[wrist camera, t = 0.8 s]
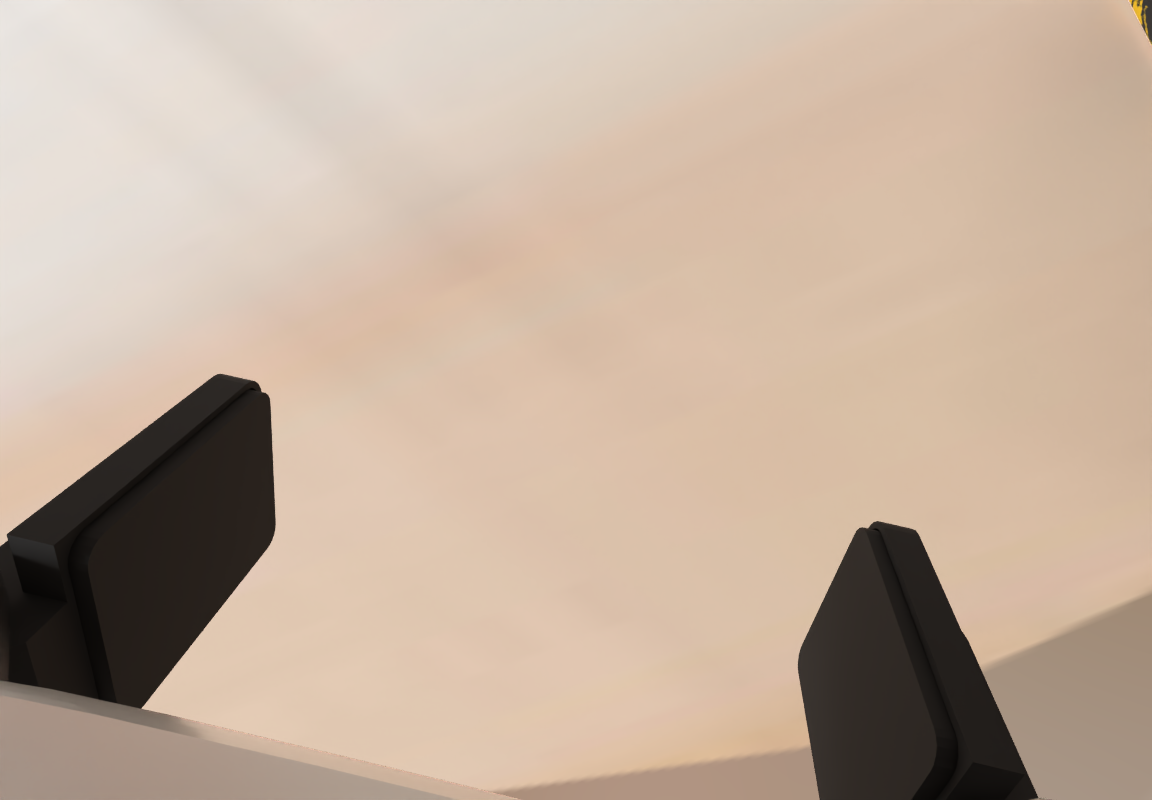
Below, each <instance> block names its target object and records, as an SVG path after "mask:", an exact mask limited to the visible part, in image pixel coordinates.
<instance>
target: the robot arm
mask: <svg viewBox="0 0 1152 800" xmlns="http://www.w3.org/2000/svg"><path fill="white" fill-rule="evenodd" d="M275 525H276V522H275V499H274V476H273V453H272V430H271V407H270V398H269V396H268V395H267V394H266V393H263V392H261V388H260V386H259V384H258V383H257V382H255V381H251V380H247V379H242V378H238V377H233V376H229V375H224V374H217V375H215V376H213V377H212V378H211V379H209V380H208V381H207V382H206V383H204V384H203V385H202V386H200V387H199V388H198V389H196V390H195V391H194V392H192V393H191V394H190V395H188V396H187V397H186V398H185V399H183V400H182V401H181V402H179V403H178V404H177V405H175V406H174V407H173V408H171V409H170V410H169V411H168V412H166V413H165V414H164V415H162V416H161V417H160V418H158V419H157V420H156V421H154V422H153V423H152V424H151V425H149V426H148V427H147V428H145V429H144V430H143V431H141V432H140V433H139V434H137V435H136V436H135V437H134V438H132V439H131V440H130V441H128V442H127V443H126V444H124V445H123V446H122V447H120V448H119V449H118V450H117V451H115V452H114V453H113V454H111V455H110V456H109V457H107V458H106V459H105V460H103V461H102V462H101V463H100V464H98V465H97V466H96V467H94V468H93V469H92V470H90V471H89V472H88V473H86V474H85V475H84V476H82V477H81V478H80V479H79V480H77V481H76V482H75V483H73V484H72V485H71V486H69V487H68V488H67V489H65V490H64V491H63V492H62V493H60V494H59V495H58V496H56V497H55V498H54V499H52V500H51V501H50V502H48V503H47V504H46V505H45V506H43V507H42V508H41V509H39V510H38V511H37V512H35V513H34V514H33V515H31V516H30V517H29V518H28V519H26V520H25V521H24V522H22V523H21V524H20V525H18V526H17V527H16V528H14V529H13V530H12V531H11V532H9V533H8V534H7V538H8V541H7V542H5V543H4V544H3V545H2V546H0V800H521V799H517V798H513V797H509V796H505V795H501V794H497V793H493V792H489V791H485V790H480V789H476V788H472V787H468V786H464V785H460V784H456V783H452V782H448V781H443V780H439V779H435V778H431V777H427V776H423V775H419V774H414V773H410V772H406V771H402V770H398V769H394V768H390V767H386V766H381V765H377V764H373V763H369V762H365V761H361V760H357V759H352V758H348V757H344V756H340V755H336V754H332V753H327V752H323V751H319V750H315V749H310V748H306V747H302V746H298V745H294V744H289V743H285V742H281V741H277V740H272V739H268V738H264V737H260V736H256V735H251V734H247V733H243V732H239V731H234V730H230V729H226V728H222V727H218V726H213V725H209V724H205V723H201V722H196V721H192V720H188V719H184V718H180V717H175V716H171V715H167V714H162V713H158V712H153V711H149V710H144V709H141V708H142V707H143V706H144V705H145V703H146V702H147V701H148V699H149V698H150V697H151V696H152V694H153V693H154V692H155V691H156V689H157V688H158V687H159V685H160V684H161V683H162V682H163V680H164V679H165V678H166V677H167V675H168V674H169V673H170V671H171V670H172V669H173V668H174V666H175V665H176V664H177V663H178V661H179V660H180V659H181V657H182V656H183V655H184V654H185V652H186V651H187V650H188V649H189V647H190V646H191V645H192V643H193V642H194V641H195V640H196V638H197V637H198V636H199V635H200V633H201V632H202V631H203V630H204V628H205V627H206V626H207V624H208V623H209V622H210V621H211V619H212V618H213V617H214V616H215V614H216V613H217V612H218V610H219V609H220V608H221V607H222V605H223V604H224V603H225V602H226V600H227V599H228V598H229V596H230V595H231V594H232V593H233V591H234V590H235V589H236V588H237V586H238V585H239V584H240V582H241V581H242V580H243V579H244V577H245V576H246V575H247V574H248V572H249V571H250V570H251V568H252V567H253V566H254V565H255V563H256V562H257V561H258V560H259V558H260V557H261V556H262V555H263V553H264V552H265V551H266V549H267V548H268V547H269V545H270V543H271V541H272V539H273V536H274V532H275ZM798 673H799V679H800V685H801V691H802V697H803V702H804V708H805V714H806V720H807V726H808V732H809V738H810V744H811V750H812V756H813V762H814V768H815V773H816V779H817V786H818V791H819V798H820V800H1051V799H1044V798H1038V796H1037V794H1036V791H1035V789H1034V787H1033V785H1032V783H1031V780H1030V778H1029V776H1028V774H1027V771H1026V769H1025V767H1024V765H1023V763H1022V760H1021V758H1020V756H1019V753H1018V751H1017V749H1016V747H1015V745H1014V742H1013V740H1012V738H1011V736H1010V733H1009V731H1008V729H1007V727H1006V724H1005V722H1004V720H1003V718H1002V715H1001V713H1000V711H999V709H998V707H997V704H996V702H995V700H994V698H993V695H992V693H991V691H990V689H989V687H988V684H987V682H986V680H985V677H984V675H983V673H982V671H981V669H980V666H979V664H978V662H977V660H976V657H975V655H974V653H973V651H972V648H971V646H970V644H969V642H968V640H967V638H966V637H965V635H964V634H963V632H962V631H961V629H960V626H959V624H958V622H957V620H956V617H955V615H954V613H953V611H952V608H951V606H950V604H949V602H948V599H947V597H946V595H945V593H944V590H943V588H942V586H941V584H940V581H939V579H938V577H937V575H936V572H935V570H934V568H933V566H932V563H931V561H930V559H929V557H928V554H927V552H926V550H925V548H924V545H923V543H922V541H921V539H920V536H919V535H918V533H917V532H916V531H915V530H913V529H910V528H906V527H901V526H897V525H892V524H888V523H884V522H879V521H876V522H873V523H872V524H871V525H870V527H869V528H868V529H867V528H863V527H862V528H859V529H858V530H857V531H856V533H855V535H854V537H853V539H852V541H851V543H850V545H849V547H848V549H847V552H846V554H845V556H844V558H843V560H842V562H841V564H840V566H839V568H838V570H837V573H836V575H835V577H834V579H833V581H832V583H831V585H830V587H829V589H828V592H827V594H826V596H825V598H824V600H823V602H822V604H821V606H820V608H819V611H818V613H817V615H816V617H815V619H814V621H813V623H812V625H811V627H810V629H809V632H808V634H807V636H806V638H805V640H804V642H803V644H802V647H801V649H800V653H799V659H798Z"/></svg>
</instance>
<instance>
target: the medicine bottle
mask: <svg viewBox="0 0 1152 800" xmlns="http://www.w3.org/2000/svg"><path fill="white" fill-rule="evenodd" d="M1128 1H1129V3H1130V5H1131V7H1132V9H1133V11H1134V13H1135V15H1136V17H1137V19H1138V21H1139V23H1140V25H1141V27H1142V29H1143V31H1144V33H1145V35H1146V37H1147V39H1148V41H1149V43H1150V45H1151V47H1152V0H1128Z"/></svg>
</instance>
